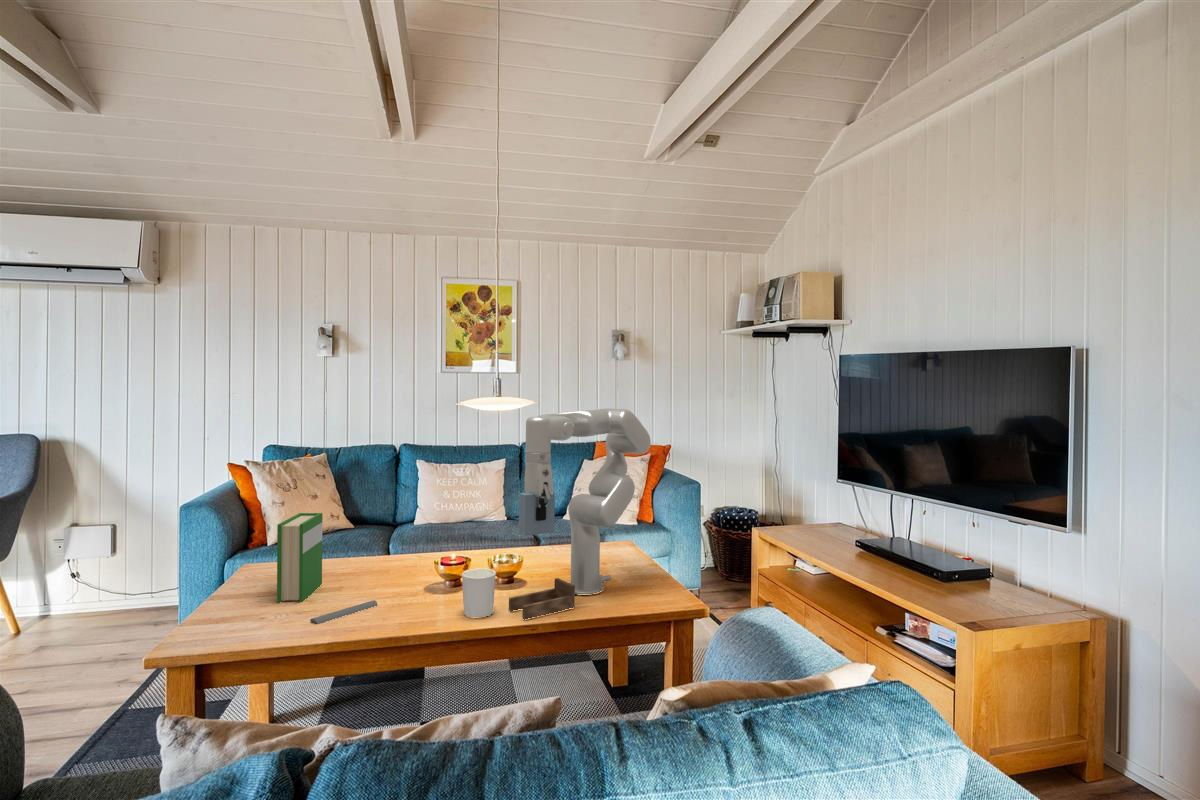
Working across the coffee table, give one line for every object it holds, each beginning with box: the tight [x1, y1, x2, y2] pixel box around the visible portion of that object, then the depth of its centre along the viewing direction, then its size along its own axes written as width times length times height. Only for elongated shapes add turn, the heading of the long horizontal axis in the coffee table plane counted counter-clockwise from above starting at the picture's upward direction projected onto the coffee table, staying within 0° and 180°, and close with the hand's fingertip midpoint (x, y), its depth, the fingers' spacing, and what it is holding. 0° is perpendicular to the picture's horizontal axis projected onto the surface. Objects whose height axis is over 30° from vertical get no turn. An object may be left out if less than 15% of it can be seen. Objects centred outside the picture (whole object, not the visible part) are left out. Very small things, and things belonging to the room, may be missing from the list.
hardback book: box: [276, 512, 323, 604], centre depth 198 cm, size 18×7×24 cm, turn 6°
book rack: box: [508, 577, 576, 621], centre depth 186 cm, size 17×9×7 cm, turn 127°
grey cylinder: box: [461, 567, 497, 618], centre depth 183 cm, size 10×10×12 cm
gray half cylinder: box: [309, 599, 379, 625], centre depth 181 cm, size 4×20×2 cm, turn 144°
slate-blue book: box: [518, 491, 556, 537], centre depth 187 cm, size 10×4×12 cm, turn 124°
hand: (537, 518), depth 187 cm, fingers closed on slate-blue book, 4 cm apart
